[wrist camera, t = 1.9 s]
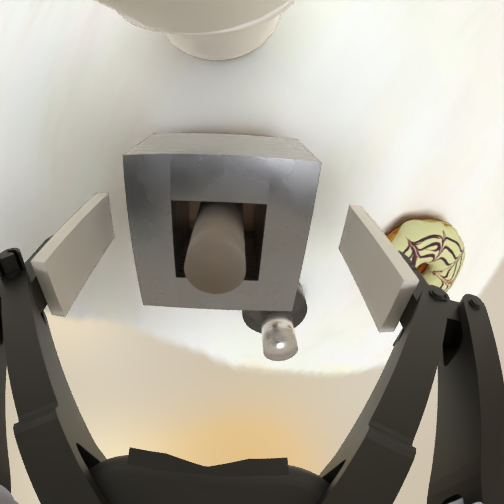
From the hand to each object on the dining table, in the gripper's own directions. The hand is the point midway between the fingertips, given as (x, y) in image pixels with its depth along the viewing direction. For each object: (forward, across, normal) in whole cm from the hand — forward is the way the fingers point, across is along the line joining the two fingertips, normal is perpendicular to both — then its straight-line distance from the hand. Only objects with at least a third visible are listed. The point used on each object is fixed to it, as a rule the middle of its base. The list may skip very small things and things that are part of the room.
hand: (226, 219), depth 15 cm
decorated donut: (+8, +18, -7) cm, 21 cm away
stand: (+7, 0, 0) cm, 7 cm away
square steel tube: (+2, 0, 0) cm, 2 cm away
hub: (+8, +5, -12) cm, 15 cm away
